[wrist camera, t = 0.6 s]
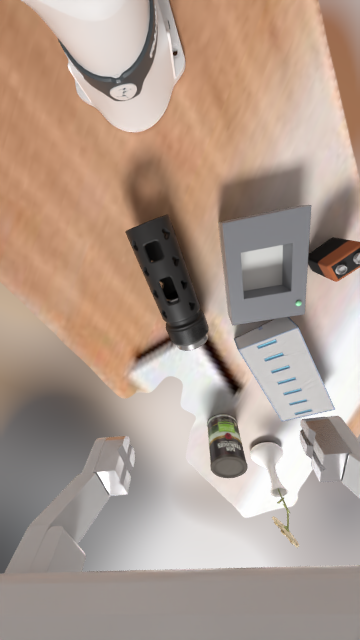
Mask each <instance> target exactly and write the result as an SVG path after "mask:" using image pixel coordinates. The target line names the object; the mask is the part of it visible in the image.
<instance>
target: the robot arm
mask: <svg viewBox="0 0 360 640" xmlns="http://www.w3.org/2000/svg"><path fill="white" fill-rule="evenodd" d="M21 1H23V2H24V3H26V4H27V5H28V6H29V7H31V8H32V9H33V10H34V11H35V12H36V13H37V14H38V15H39V16H40V17H41V18H42V19H43V21H44V22H45V23H46V24H47V25H48V26H49V28H50V29H51V30H52V31H53V32H54V34H55V35H56V36H57V38H58V40H59V42H60V44H61V46H62V48H63V50H64V52H65V54H66V55H67V57H68V61H69V63H68V68H69V70H70V72H71V74H72V75H73V77H74V78H75V84H76V90H77V93H78V95H79V96H80V98H81V99H82V100H83V101H84V102H86V103H87V104H89V105H91V106H93V107H95V108H97V109H98V110H99V111H100V112H101V114H102V115H103V116H104V117H105V118H106V119H107V120H108V121H109V122H110V123H111V124H112V125H114V126H115V127H117V128H119V129H121V130H124V131H127V132H140V131H144V130H146V129H148V128H150V127H152V126H153V125H154V124H155V123H156V122H157V121H158V120H159V119H160V118H161V117H162V115H163V114H164V112H165V110H166V108H167V106H168V103H169V100H170V97H171V94H172V90H173V87H174V85H175V84H176V82H177V81H178V80H179V78H180V77H181V75H182V74H183V72H184V70H185V57H184V53H183V50H182V46H181V43H180V39H179V36H178V32H177V28H176V25H175V21H174V18H173V14H172V10H171V7H170V3H169V0H21ZM174 51H176V52H177V53H178V54H177V55H176V56H174V55H173V52H174ZM301 427H302V428H303V429H302V430H301V431H300V440H301V444H302V447H303V449H304V451H305V453H306V455H307V456H309V457H310V458H311V459H312V463H311V466H312V468H313V470H314V471H315V473H316V476H317V478H318V480H319V482H333V481H342V483H343V484H344V485H345V486H346V487H347V488H349V489H350V490H351V491H352V492H353V493H354V494H355V495H356V496H357V497H358V498H360V442H359V441H358V439H357V438H356V437H355V435H354V434H353V433H352V431H351V430H350V429H349V427H348V426H347V425H346V423H345V422H344V421H343V420H342V418H341V417H339V416H331V417H318V418H309V419H302V420H301ZM129 443H130V439H129V438H128V436H123V437H109V438H98V439H97V440H96V441H95V443H94V445H93V448H92V450H91V452H90V455H89V457H88V460H87V462H86V464H85V467H84V469H83V471H82V474H78V475H77V477H75V479H73V480H72V482H71V483H70V484H69V485H68V486H67V487H66V488H65V489H64V490H63V491H62V492H61V493H60V494H59V495H58V496H57V497H56V498H55V499H54V500H53V502H51V503H50V504H49V505H48V507H47V508H46V509H45V510H44V511H43V512H42V513H41V514H40V515H39V516H38V517H37V518H36V519H35V520H34V521H33V522H32V523H31V524H30V525H29V526H28V528H27V530H26V532H25V534H24V536H23V538H22V540H21V542H20V544H19V546H18V548H17V549H16V551H15V553H14V555H13V557H12V559H11V561H10V563H9V565H8V567H7V569H6V571H5V573H3V574H0V640H360V565H349V566H305V567H261V568H218V569H175V570H131V571H89V572H82V569H83V566H84V562H85V559H86V555H85V552H84V551H83V550H82V549H81V548H80V547H79V546H78V543H79V542H80V541H81V539H82V537H83V536H84V534H85V533H86V532H87V530H88V529H89V527H90V526H91V524H92V523H93V521H94V520H95V518H96V517H97V515H98V514H99V512H100V511H101V509H102V508H103V507H104V505H105V504H106V502H107V501H108V499H109V498H110V496H114V495H124V494H127V493H128V489H129V485H130V480H131V477H130V475H129V472H130V471H131V470H132V468H133V466H134V461H135V460H134V459H135V453H134V449H133V447H132V446H131V445H130V444H129Z"/></svg>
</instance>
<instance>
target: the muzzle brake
mask: <svg viewBox="0 0 360 640" xmlns="http://www.w3.org/2000/svg"><path fill="white" fill-rule="evenodd" d="M126 235H127V237H128V239H129V241H130V244H131V246H132V248H133V251H134V253H135V255H136V258H137V260H138V262H139V264H140V267H141V269H142V271H143V274H144V276H145V278H146V281H147V283H148V285H149V287H150V290H151V292H152V294H153V297H154V299H155V301H156V304H157V306H158V308H159V310H160V313H161V315H162V317H163V320H164V321H166V322H167V323H166V330H167V332H168V334H169V337H170V339H171V341H172V342H173V343H174V344H176V345H177V347H178V348H179V349H180V350H184V351H188V350H193V349H196V348H198V347H200V346H202V345H203V344H204V343H205V342H206V341H207V339H208V334H207V332H208V324H207V321H206V318H205V315H204V313H203V312H202V311H201V310H199V308H200V305H199V302H198V299H197V296H196V293H195V290H194V287H193V284H192V281H191V279H190V276H189V273H188V270H187V267H186V264H185V261H184V258H183V256H182V252H181V249H180V247H179V244H178V241H177V238H176V235H175V232H174V230H173V226H172V223H171V220H170V217H169V215H164V216H162V217H159V218H156V219H154V220H151V221H149V222H146V223H144V224H141V225H139V226H136V227H134V228H132V229H129V230H127V231H126ZM151 261H152V262H151ZM159 282H162V283H163V285H162V288H161V285H160V283H159Z"/></svg>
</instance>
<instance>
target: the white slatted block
mask: <svg viewBox="0 0 360 640" xmlns="http://www.w3.org/2000/svg"><path fill="white" fill-rule="evenodd" d="M234 340H235V343H236V346H237V348H238V350H239V352H240V354H241V355H242V357H243V359H244V360H245V362H246V364H247V365H248V367H249V369H250V370H251V372H252V373H253V375H254V377H255V378H256V380H257V382H258V383H259V385H260V387H261V388H262V390H263V391H264V393H265V395H266V396H267V398H268V400H269V401H270V403H271V405H272V406H273V408H274V409H275V411H276V413H277V414H278V416H279V418H280V419H281V421H286V420H291V419H295V418H300V417H304V416H309V415H313V414H318V413H322V412H326V411H331V410H335V408H334V406H333V404H332V401H331V399H330V397H329V395H328V392H327V390H326V388H325V386H324V383H323V381H322V379H321V377H320V374H319V372H318V370H317V368H316V366H315V363H314V361H313V359H312V357H311V354H310V352H309V350H308V348H307V345H306V343H305V341H304V339H303V336H302V334H301V332H300V330H299V327H298V326H297V325H296V324H295V323H294V322H293V321H292V320H291V319H290V318H289V317H284V318H277V319H275V320H273V321H271V322H268V323H266V324H264V325H262V326H261V327H259V328H256V329H254V330H252V331H250V332H248V333H246V334H244V335H242V336H240V337H238V338H236V339H234Z"/></svg>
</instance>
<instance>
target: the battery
mask: <svg viewBox="0 0 360 640" xmlns="http://www.w3.org/2000/svg"><path fill="white" fill-rule="evenodd" d="M308 264H309V266H310V268H311V269H312V271H313V272H316V273H318V274H320V275H322V276H324V277H326V278H329V279H331V280H333V281H335V282H337V281H339V280H341V279H342V278H344V277H345V276H347V275H348V274H350V273H352V272H353V271H355V270H356V269H358V268H359V267H360V242H357V241H351V240H345V239H339V238H331V239H330V240H328V241H327V242H326V243H324V244H323V245H321V246H320V247H319V248H317V249H316V250H314V251H313V252H312V253H310V254H309V255H308Z"/></svg>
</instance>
